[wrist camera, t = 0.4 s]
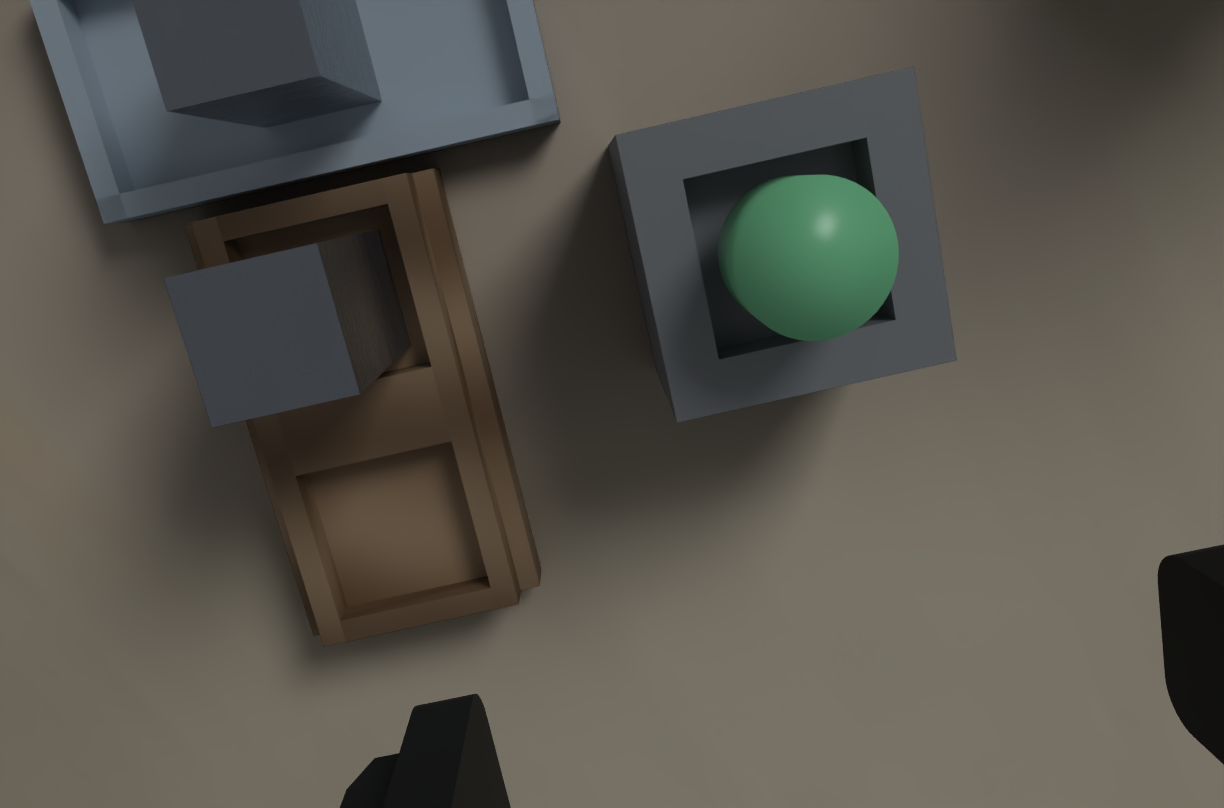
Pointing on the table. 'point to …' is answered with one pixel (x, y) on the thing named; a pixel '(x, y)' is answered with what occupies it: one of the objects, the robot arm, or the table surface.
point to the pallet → (391, 431)
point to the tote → (305, 149)
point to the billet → (258, 58)
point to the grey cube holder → (710, 187)
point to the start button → (809, 255)
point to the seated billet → (290, 326)
